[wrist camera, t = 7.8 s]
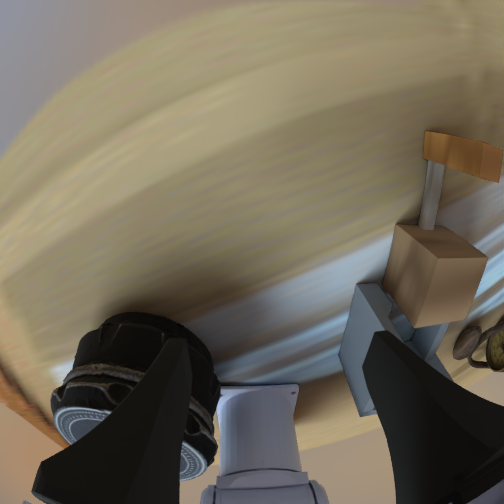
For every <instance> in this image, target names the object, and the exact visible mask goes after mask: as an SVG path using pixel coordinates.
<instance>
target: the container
mask: <svg viewBox="0 0 504 504" xmlns="http://www.w3.org/2000/svg"><path fill="white" fill-rule="evenodd" d="M170 338H181V339H186V341H187V347H188V353H189V358H190V364H191V369H192V390H191V400H190V405H189V411H188V416H187V421H186V427H185V432H184V438H183V443H182V450H181V461H180V481H185V480H190V479H193V478H195V477H198V476H200V475H202V474H203V473H204V472H205V471H206V469H207V467H208V466H210V465H211V464H212V463H213V462H214V456H215V455H216V453H217V449H218V445H217V442H216V440H215V439H214V424H213V416H214V414H215V411H216V408H217V405H218V402H219V399H220V397H221V383H220V382H219V381H218V379H217V376H216V375H215V374H214V369H213V363H212V360H211V356H210V353H209V351H208V349H207V348H206V346H205V345H204V344H203V342H202V341H201V340H200V339H199V338H197V337H196V336H195V335H194V334H193V333H192V332H191V331H189V330H188V329H187V328H185V327H184V326H182V325H180V324H178V323H176V322H174V321H172V320H170V319H168V318H165V317H161V316H157V315H152V314H147V313H140V312H126V313H122V314H118V315H115V316H112V317H111V318H109V319H107V320H106V321H105V322H104V323H103V324H102V325H101V326H100V327H99V329H96V330H93V331H91V332H88V333H87V334H86V335H84V336H83V338H82V339H81V340H80V342H79V345H78V349H77V353H76V355H75V361H74V364H73V368H72V370H71V371H70V372H69V373H68V374H67V376H66V377H65V379H64V380H63V382H64V383H63V385H62V386H61V387H58V388H56V389H55V390H54V391H53V393H52V394H51V409H52V413H53V416H54V423H55V426H56V427H57V429H58V431H59V432H60V434H61V435H62V436H63V437H64V438H65V440H66V441H68V442H69V443H70V444H71V445H72V444H73V443H74V442H76V441H77V440H79V439H80V438H81V437H83V436H84V435H86V434H87V433H88V432H90V431H91V430H92V429H93V428H95V427H96V426H97V425H98V424H99V423H100V422H101V421H103V420H104V419H105V418H106V417H107V416H108V415H109V414H110V413H111V412H112V411H113V410H114V409H115V408H116V407H117V406H118V405H119V404H120V403H121V402H122V401H123V400H124V399H125V398H126V396H127V395H128V394H129V393H130V392H131V390H132V389H133V388H134V387H135V386H136V384H137V383H138V382H139V381H140V380H141V378H142V377H143V376H144V374H145V373H146V371H147V370H148V369H149V367H150V366H151V365H152V363H153V362H154V360H155V359H156V357H157V356H158V354H159V353H160V351H161V350H162V348H163V347H164V345H165V344H166V342H167V340H168V339H170Z"/></svg>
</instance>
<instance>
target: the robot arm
mask: <svg viewBox="0 0 504 504" xmlns="http://www.w3.org/2000/svg"><path fill="white" fill-rule="evenodd" d="M362 370H363V374H364V378H365V382H366V385H367V389H368V391H369V394H370V397H371V399H372V402H373V404H374V407H375V409H376V412H377V414H378V417H379V419H380V422H381V424H382V427H383V429H384V432H385V435H386V438H387V443H388V447H389V451H390V456H391V461H392V467H393V473H394V481H395V490H396V504H504V406H501V405H498V404H495V403H493V402H490V401H488V400H486V399H483V398H481V397H479V396H477V395H475V394H473V393H471V392H469V391H468V390H466V389H464V388H462V387H461V386H459V385H458V384H456V383H454V382H453V381H451V380H450V379H448V378H447V377H445V376H444V375H443V374H441V373H440V372H438V371H437V370H436V369H434V368H433V367H432V366H431V365H429V364H428V363H427V362H426V361H424V360H423V359H422V358H421V357H419V356H418V355H417V354H416V353H415V352H413V351H412V350H411V349H410V348H409V347H408V346H406V345H405V344H404V343H403V342H402V341H400V340H399V339H398V338H397V337H396V336H394V335H393V334H392V333H391V332H389V331H388V330H384V331H376V332H374V334H373V337H372V340H371V343H370V346H369V349H368V352H367V354H366V357H365V360H364V362H363V365H362ZM191 390H192V369H191V364H190V358H189V353H188V347H187V341H186V339H181V338H170V339H168V340H167V342H166V344H165V345H164V347H163V348H162V350H161V351H160V353H159V354H158V356H157V357H156V359H155V360H154V362H153V363H152V365H151V366H150V367H149V369H148V370H147V371H146V373H145V374H144V376H143V377H142V378H141V380H140V381H139V382H138V383H137V384H136V386H135V387H134V388H133V389H132V390H131V392H130V393H129V394H128V395H127V396H126V398H125V399H124V400H123V401H122V402H121V403H120V404H119V405H118V406H117V407H116V408H115V409H114V410H113V411H112V412H111V413H110V414H109V415H108V416H107V417H106V418H105V419H104V420H103V421H101V422H100V423H99V424H98V425H97V426H96V427H95V428H93V429H92V430H91V431H90V432H88V433H87V434H86V435H84V436H83V437H81V438H80V439H79V440H77V441H76V442H74V443H73V444H72V445H70V446H69V447H67V448H65V449H64V450H62V451H60V452H58V453H57V454H55V455H53V456H51V457H49V458H48V459H46V460H44V461H42V462H41V464H40V466H39V468H38V471H37V474H36V477H35V481H34V484H33V488H32V491H31V492H32V494H33V495H34V496H35V497H37V498H38V499H39V500H41V501H43V502H44V503H46V504H179V487H180V461H181V450H182V443H183V438H184V432H185V427H186V421H187V416H188V411H189V405H190V400H191ZM298 393H299V386H298V385H297V384H289V385H270V386H221V397H220V399H219V402H218V405H217V414H218V421H219V428H220V471H219V476H217V482H216V485H208V487H207V488H206V489H204V490H203V492H202V495H201V501H200V504H329V501H328V497H327V494H326V491H325V489H324V487H323V486H322V485H320V484H319V483H318V482H317V481H316V480H308V474H307V472H302V469H301V462H300V456H299V450H298V444H297V438H296V432H295V426H294V420H293V414H294V410H295V406H296V401H297V397H298ZM23 504H31V503H29V502H27V501H26V500H25V501H23Z"/></svg>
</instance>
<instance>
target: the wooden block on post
mask: <svg viewBox="0 0 504 504" xmlns="http://www.w3.org/2000/svg"><path fill="white" fill-rule="evenodd" d="M502 156H503V149H500V148H498V147H495V146H492V145H490V144H487V143H484V142H480V141H476V140H472V139H467V138H462V137H457V136H452V135H447V134H441V133H435V132H429V131H425V138H424V149H423V159H426V160H428V169H427V176H426V183H425V190H424V196H423V202H422V207H421V213H420V218H419V223H418V225H402V224H396V226H395V231H394V236H393V241H392V246H391V251H390V255H389V259H388V264H387V268H386V272H385V276H384V280H383V284H382V285H383V286H384V287H385V289H386V290H387V291H388V293H389V294H390V295H391V297H392V298H393V299H394V301H395V302H396V303H397V305H398V306H399V308H400V309H401V310H402V312H403V313H404V315H405V316H406V317H407V319H408V320H409V322H410V323H411V324H412V326H413V327H414V328H419V327H426V326H432V325H438V324H443V323H449V322H454V321H459V320H464V319H465V318H466V316H467V313H468V311H469V309H470V306H471V304H472V302H473V299H474V297H475V294H476V291H477V289H478V286H479V284H480V281H481V278H482V275H483V272H484V270H485V267H486V264H487V260H488V257H487V256H486V255H485V254H483V253H482V252H481V251H479V250H478V249H476V248H475V247H474V246H472V245H471V244H469V243H468V242H467V241H465V240H464V239H462V238H461V237H460V236H458V235H457V234H455V233H454V232H452V231H451V230H449V229H448V228H446V227H441V226H434V225H435V220H436V216H437V211H438V205H439V200H440V194H441V188H442V182H443V175H444V168H445V166H448V167H451V168H454V169H457V170H460V171H462V172H465V173H468V174H470V175H473V176H476V177H478V178H482V179H486V180H490V181H494V182H497V183H499V179H500V172H501V165H502Z"/></svg>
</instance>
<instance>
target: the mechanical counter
mask: <svg viewBox="0 0 504 504" xmlns="http://www.w3.org/2000/svg"><path fill="white" fill-rule="evenodd" d="M481 333H482V329H481V327H479V326H472V327H469V328H468V329H466V330H465V331H464V332H462V334H461V335H460V337H459V338H458V340H457V341H456V344H455V347H454V349H453V357H454V359H456V360H461V359H464V358H466V357H467V359H468V362H469V364H470V365H471V366H472V367H475V368H490V369H491V370H493V371H494V372H504V321H501V322H500V323H498V324H497V325H496V326H494V327H491V328H489V329H488V330H486V331H485V332H483V333H482V334H481ZM488 338H489V339H488ZM486 339H488V342H487V347H486V360H487V362H483V361H474V360H473V359H472V358H471V356H472V354H473V352H474V351H475V350H476V348H477V347H478V346H479V345H480V344H481V343H482V342H484V341H485V340H486Z"/></svg>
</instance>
